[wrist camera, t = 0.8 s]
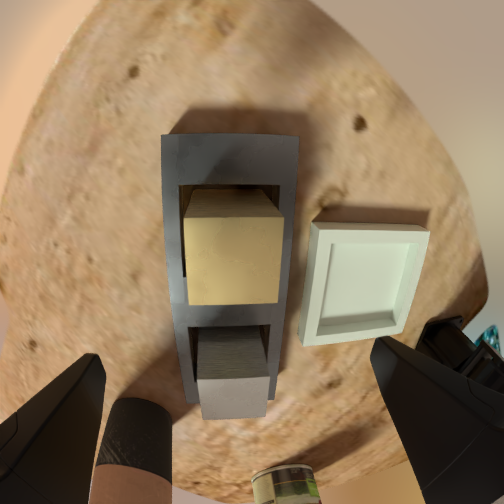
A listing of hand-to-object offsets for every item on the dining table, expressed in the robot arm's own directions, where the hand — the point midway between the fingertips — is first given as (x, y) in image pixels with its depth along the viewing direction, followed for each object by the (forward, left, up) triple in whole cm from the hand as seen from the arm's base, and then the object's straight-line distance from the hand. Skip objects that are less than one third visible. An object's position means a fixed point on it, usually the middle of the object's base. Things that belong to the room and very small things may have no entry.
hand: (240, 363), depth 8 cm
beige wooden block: (0, 0, -13) cm, 13 cm away
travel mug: (+10, +22, -13) cm, 27 cm away
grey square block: (0, +10, -13) cm, 16 cm away
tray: (-11, +5, -13) cm, 18 cm away
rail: (0, +5, -13) cm, 14 cm away
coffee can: (-8, +42, -13) cm, 44 cm away
